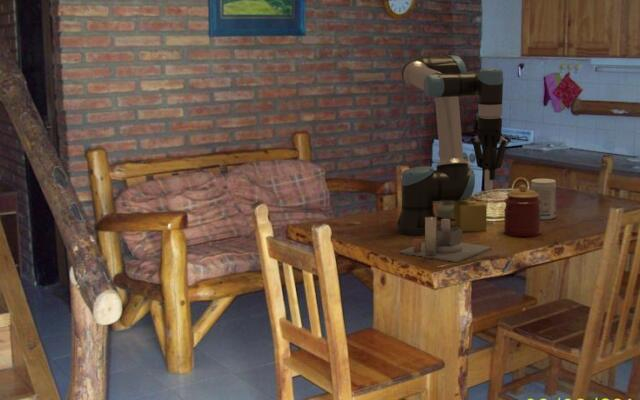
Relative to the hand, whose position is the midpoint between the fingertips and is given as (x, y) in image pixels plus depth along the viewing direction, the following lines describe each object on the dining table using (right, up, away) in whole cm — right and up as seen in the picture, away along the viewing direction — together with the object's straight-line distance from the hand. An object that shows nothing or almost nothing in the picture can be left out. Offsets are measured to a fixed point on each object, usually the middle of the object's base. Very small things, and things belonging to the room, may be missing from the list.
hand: (488, 189), depth 288 cm
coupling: (-16, -20, +3) cm, 25 cm away
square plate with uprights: (-13, -21, +6) cm, 25 cm away
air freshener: (-4, -11, +59) cm, 60 cm away
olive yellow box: (+1, -14, +39) cm, 42 cm away
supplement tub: (+32, -11, +56) cm, 65 cm away
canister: (+18, -16, +30) cm, 39 cm away
